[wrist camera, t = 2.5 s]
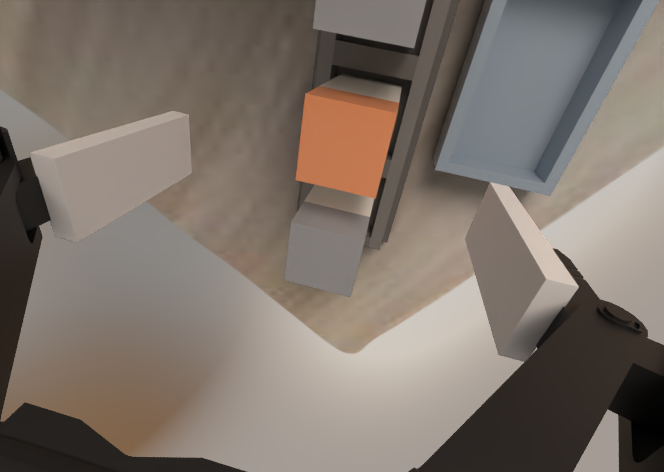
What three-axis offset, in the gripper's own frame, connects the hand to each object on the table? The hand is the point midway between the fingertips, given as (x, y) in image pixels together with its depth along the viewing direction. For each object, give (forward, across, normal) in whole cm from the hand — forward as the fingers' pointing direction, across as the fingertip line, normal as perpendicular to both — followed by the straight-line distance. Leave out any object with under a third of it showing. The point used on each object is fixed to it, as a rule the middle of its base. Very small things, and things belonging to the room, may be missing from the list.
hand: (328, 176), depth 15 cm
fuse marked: (+14, 0, 0) cm, 14 cm away
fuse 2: (+14, 0, -7) cm, 16 cm away
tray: (+15, +10, +4) cm, 19 cm away
